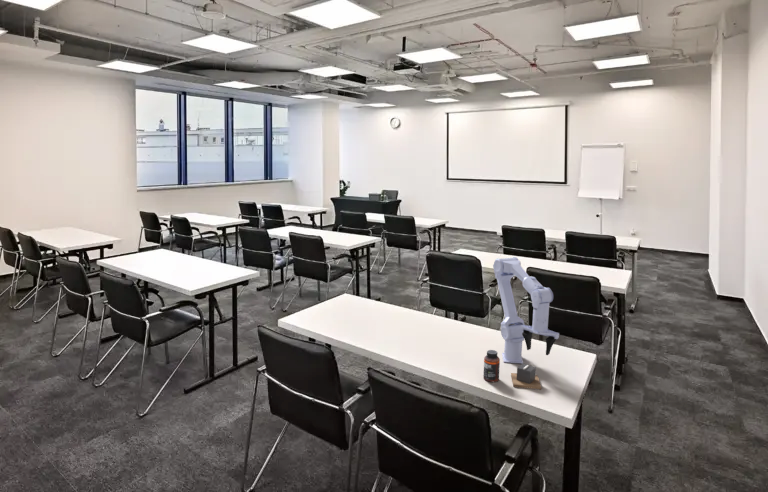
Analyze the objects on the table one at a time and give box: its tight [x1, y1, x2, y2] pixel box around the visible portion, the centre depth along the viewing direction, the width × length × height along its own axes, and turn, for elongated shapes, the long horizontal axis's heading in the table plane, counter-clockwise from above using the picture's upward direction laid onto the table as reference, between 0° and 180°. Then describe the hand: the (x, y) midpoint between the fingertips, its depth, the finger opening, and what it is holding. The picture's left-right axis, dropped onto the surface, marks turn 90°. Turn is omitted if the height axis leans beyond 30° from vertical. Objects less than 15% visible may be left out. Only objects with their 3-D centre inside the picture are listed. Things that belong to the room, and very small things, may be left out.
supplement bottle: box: [483, 349, 501, 383], centre depth 181 cm, size 6×6×11 cm
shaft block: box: [510, 372, 542, 390], centre depth 180 cm, size 10×10×4 cm
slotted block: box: [516, 363, 537, 384], centre depth 179 cm, size 5×5×6 cm
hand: (538, 351), depth 184 cm, fingers open, 7 cm apart
